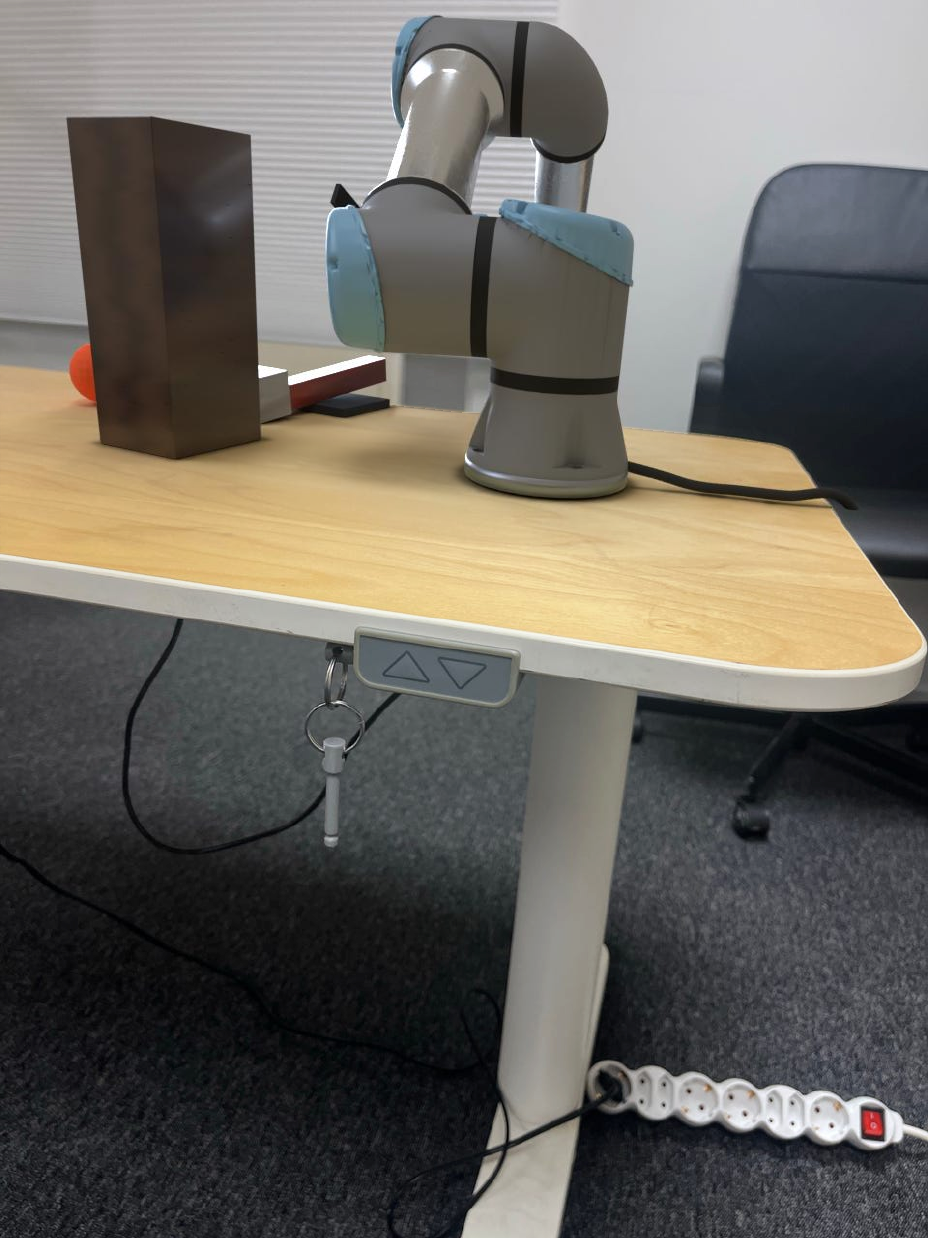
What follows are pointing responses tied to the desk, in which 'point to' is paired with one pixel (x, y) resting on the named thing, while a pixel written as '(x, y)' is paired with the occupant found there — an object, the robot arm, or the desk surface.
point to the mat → (348, 405)
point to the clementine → (83, 372)
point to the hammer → (315, 385)
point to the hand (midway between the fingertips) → (378, 194)
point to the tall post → (168, 281)
